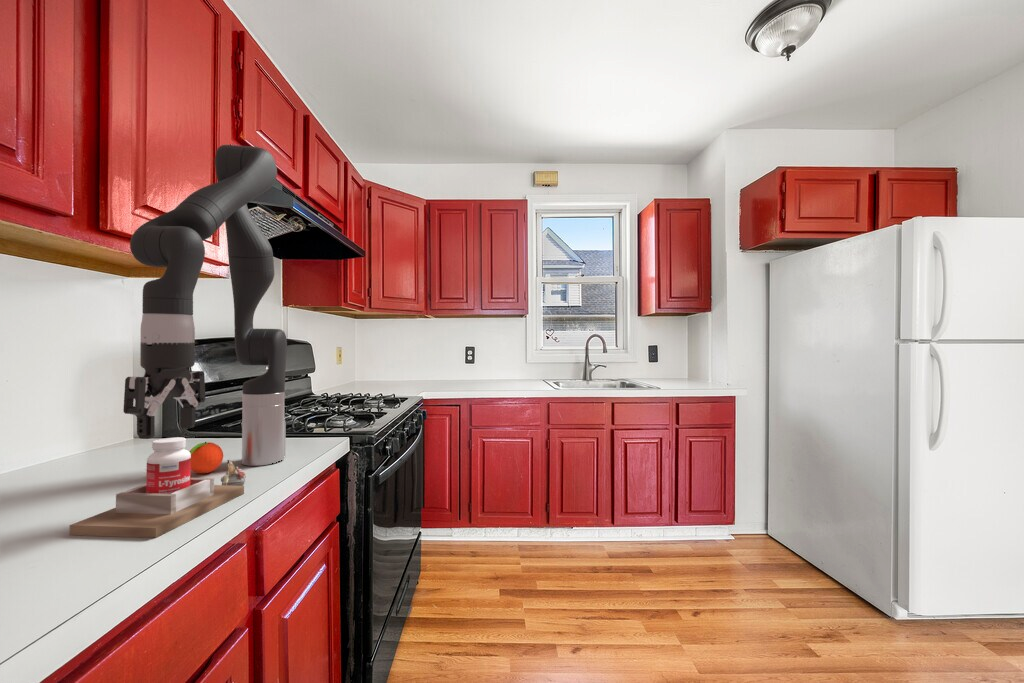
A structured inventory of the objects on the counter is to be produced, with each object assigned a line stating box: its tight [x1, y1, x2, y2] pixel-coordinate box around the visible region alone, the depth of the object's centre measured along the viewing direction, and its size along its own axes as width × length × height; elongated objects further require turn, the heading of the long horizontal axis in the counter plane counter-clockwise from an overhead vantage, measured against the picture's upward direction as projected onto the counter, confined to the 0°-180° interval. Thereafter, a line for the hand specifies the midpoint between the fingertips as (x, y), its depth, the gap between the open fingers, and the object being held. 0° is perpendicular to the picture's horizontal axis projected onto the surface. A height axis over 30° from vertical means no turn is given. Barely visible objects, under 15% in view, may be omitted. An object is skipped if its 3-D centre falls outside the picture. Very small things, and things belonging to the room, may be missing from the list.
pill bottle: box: [145, 436, 192, 494], centre depth 78 cm, size 6×6×11 cm
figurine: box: [220, 459, 247, 486], centre depth 91 cm, size 5×4×6 cm
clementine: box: [188, 441, 224, 475], centre depth 100 cm, size 8×7×7 cm
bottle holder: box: [69, 477, 245, 539], centre depth 77 cm, size 20×14×4 cm
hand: (168, 432), depth 78 cm, fingers open, 8 cm apart
